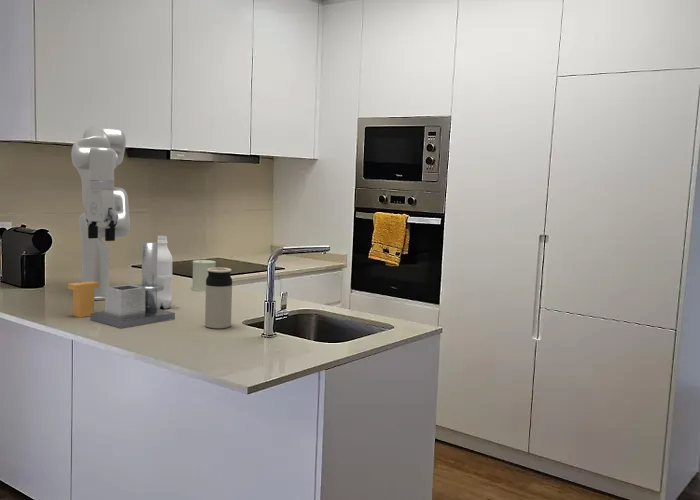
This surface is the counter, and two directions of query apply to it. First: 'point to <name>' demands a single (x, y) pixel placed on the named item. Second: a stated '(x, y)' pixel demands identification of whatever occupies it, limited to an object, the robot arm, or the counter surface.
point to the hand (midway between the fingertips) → (101, 239)
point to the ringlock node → (135, 297)
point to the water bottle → (164, 273)
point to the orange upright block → (83, 298)
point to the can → (201, 273)
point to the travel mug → (218, 298)
